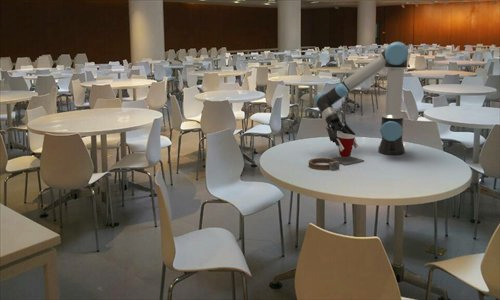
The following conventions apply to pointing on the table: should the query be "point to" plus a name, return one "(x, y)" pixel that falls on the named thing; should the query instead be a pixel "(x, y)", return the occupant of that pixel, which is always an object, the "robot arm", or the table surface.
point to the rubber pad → (347, 160)
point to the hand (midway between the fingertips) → (349, 148)
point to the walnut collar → (331, 166)
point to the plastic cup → (346, 144)
